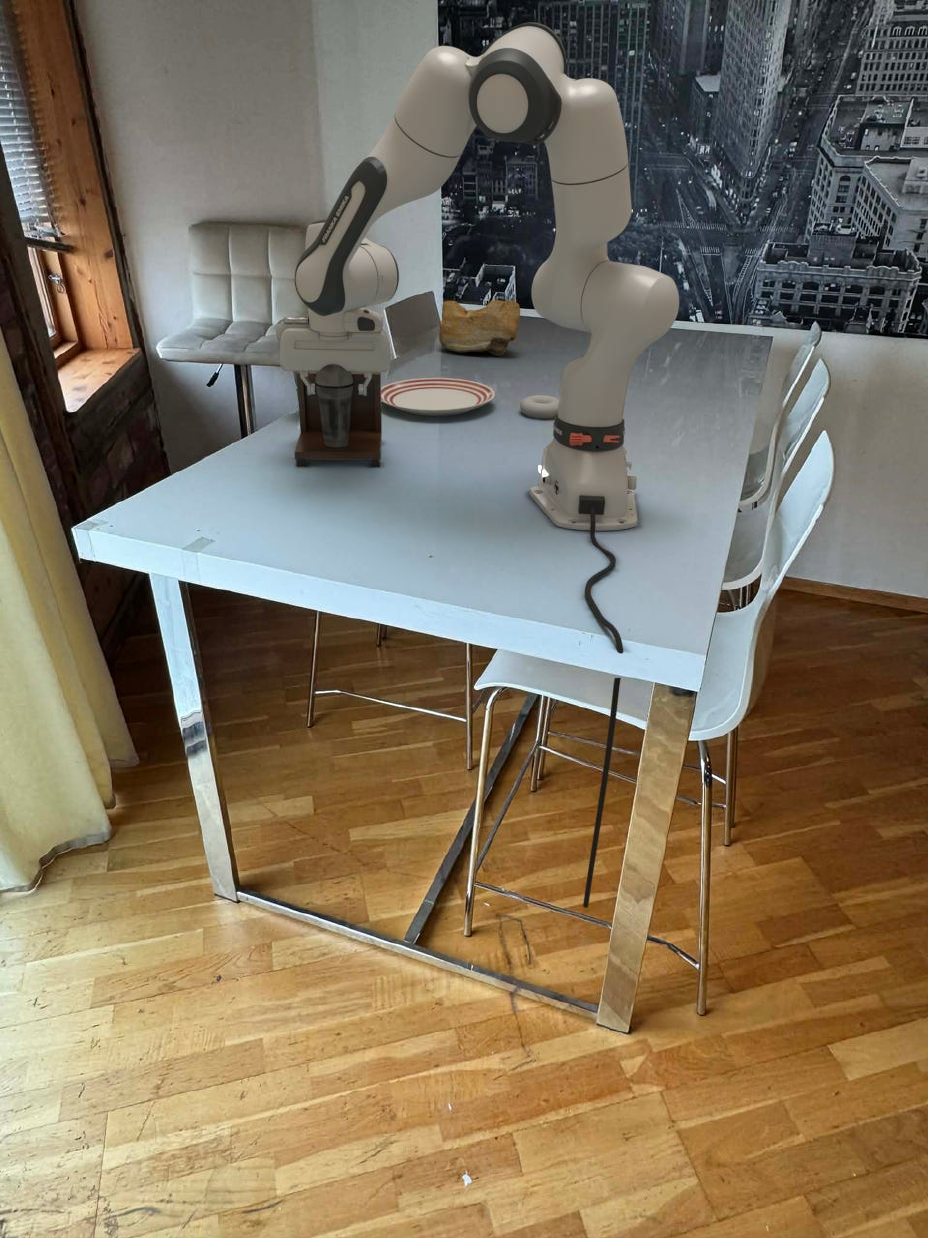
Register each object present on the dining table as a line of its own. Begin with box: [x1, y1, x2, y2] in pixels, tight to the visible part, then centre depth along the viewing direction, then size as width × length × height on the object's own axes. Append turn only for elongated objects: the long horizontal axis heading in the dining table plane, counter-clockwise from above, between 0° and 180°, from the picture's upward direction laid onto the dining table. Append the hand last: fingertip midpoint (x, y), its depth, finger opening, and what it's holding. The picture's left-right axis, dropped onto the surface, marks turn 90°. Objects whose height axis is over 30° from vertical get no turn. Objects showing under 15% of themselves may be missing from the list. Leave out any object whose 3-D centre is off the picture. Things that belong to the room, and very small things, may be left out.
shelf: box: [294, 371, 383, 468], centre depth 162 cm, size 15×16×15 cm
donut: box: [519, 394, 559, 420], centre depth 192 cm, size 10×4×10 cm
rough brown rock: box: [438, 299, 521, 357], centre depth 242 cm, size 23×17×15 cm
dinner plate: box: [381, 377, 496, 417], centre depth 196 cm, size 27×27×3 cm
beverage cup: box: [315, 364, 354, 448], centre depth 157 cm, size 7×7×20 cm
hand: (337, 394), depth 158 cm, fingers open, 8 cm apart
